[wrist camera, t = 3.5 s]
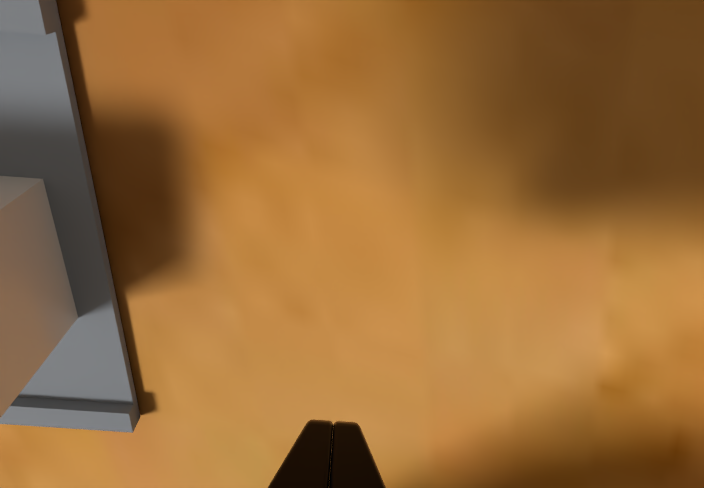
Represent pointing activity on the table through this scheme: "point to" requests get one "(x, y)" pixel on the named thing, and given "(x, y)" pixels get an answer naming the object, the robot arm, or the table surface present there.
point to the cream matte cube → (29, 285)
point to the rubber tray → (62, 228)
